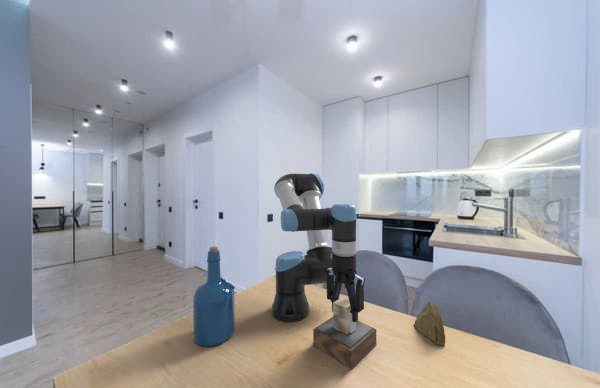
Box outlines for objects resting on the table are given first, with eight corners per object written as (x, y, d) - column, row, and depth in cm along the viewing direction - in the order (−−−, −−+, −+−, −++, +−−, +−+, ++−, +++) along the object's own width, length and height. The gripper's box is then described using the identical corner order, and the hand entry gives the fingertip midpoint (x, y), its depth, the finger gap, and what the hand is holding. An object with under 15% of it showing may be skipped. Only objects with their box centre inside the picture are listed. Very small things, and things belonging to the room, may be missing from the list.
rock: (456, 342, 68) (448, 320, 77) (437, 318, 69) (431, 299, 78) (424, 354, 72) (420, 332, 81) (406, 332, 73) (404, 312, 82)
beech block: (333, 327, 71) (333, 302, 71) (342, 321, 74) (342, 297, 74) (346, 334, 67) (346, 308, 67) (355, 327, 71) (355, 302, 71)
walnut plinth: (313, 344, 71) (313, 328, 71) (339, 326, 81) (339, 311, 81) (351, 369, 61) (351, 350, 61) (376, 344, 71) (376, 328, 71)
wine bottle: (199, 354, 67) (198, 254, 67) (188, 333, 78) (187, 246, 77) (242, 335, 76) (241, 247, 76) (227, 319, 86) (226, 240, 86)
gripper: (314, 250, 75) (315, 320, 75) (363, 262, 62) (364, 346, 62) (329, 246, 80) (329, 311, 80) (376, 256, 67) (377, 334, 67)
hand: (344, 326), depth 71 cm, fingers closed on beech block, 5 cm apart
